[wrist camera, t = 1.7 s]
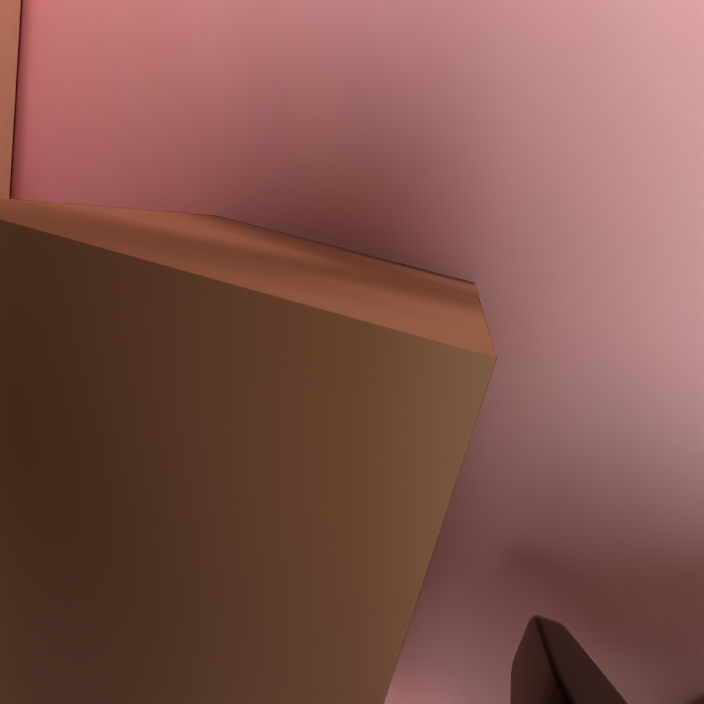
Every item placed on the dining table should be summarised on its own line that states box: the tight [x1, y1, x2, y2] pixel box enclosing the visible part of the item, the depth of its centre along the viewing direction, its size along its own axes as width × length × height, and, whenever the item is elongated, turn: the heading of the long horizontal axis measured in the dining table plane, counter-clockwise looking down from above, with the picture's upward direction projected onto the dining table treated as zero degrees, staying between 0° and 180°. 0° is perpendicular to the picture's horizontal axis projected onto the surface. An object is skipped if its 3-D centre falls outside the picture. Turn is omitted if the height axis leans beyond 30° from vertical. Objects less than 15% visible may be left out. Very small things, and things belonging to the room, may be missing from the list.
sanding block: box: [0, 198, 497, 704], centre depth 8 cm, size 5×9×6 cm, turn 166°
